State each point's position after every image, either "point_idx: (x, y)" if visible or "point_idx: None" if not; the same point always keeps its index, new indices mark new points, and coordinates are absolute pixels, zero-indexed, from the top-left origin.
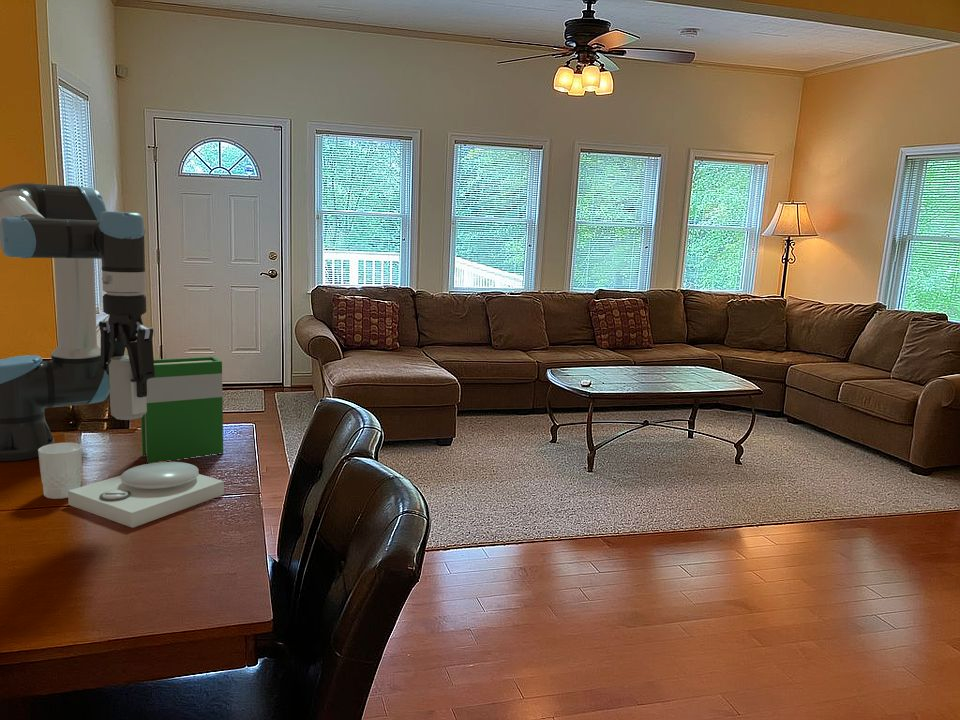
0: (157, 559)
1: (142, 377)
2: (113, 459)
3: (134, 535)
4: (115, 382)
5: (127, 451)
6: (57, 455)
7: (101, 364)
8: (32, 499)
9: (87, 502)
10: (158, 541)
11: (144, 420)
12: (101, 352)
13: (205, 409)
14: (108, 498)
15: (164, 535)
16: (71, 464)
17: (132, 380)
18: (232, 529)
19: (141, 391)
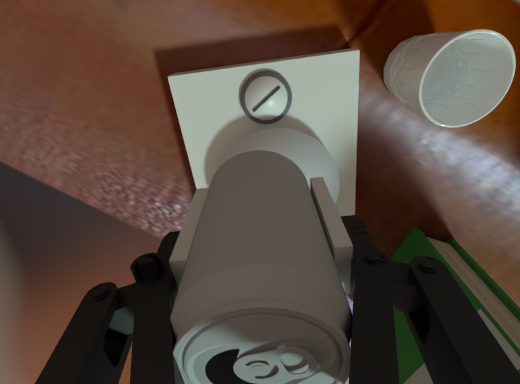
0: (22, 33)
1: (94, 291)
2: (480, 204)
3: (141, 58)
4: (230, 214)
5: (492, 235)
6: (430, 55)
7: (443, 277)
8: (432, 12)
9: (296, 57)
10: (94, 73)
11: (487, 285)
12: (486, 342)
13: (398, 357)
14: (254, 79)
15: (113, 92)
16: (406, 81)
17: (146, 258)
18: (79, 170)
19: (159, 250)
